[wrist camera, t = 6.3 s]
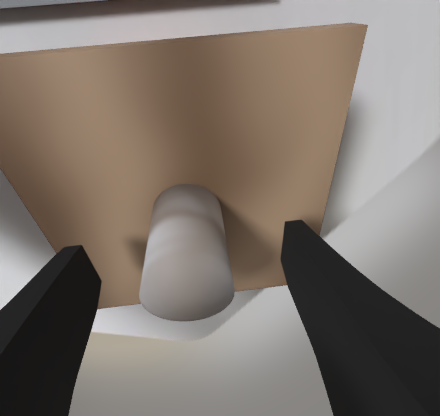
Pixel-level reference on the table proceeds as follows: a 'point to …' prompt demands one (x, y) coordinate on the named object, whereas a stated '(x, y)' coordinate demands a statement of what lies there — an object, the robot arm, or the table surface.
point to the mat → (37, 2)
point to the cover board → (179, 155)
